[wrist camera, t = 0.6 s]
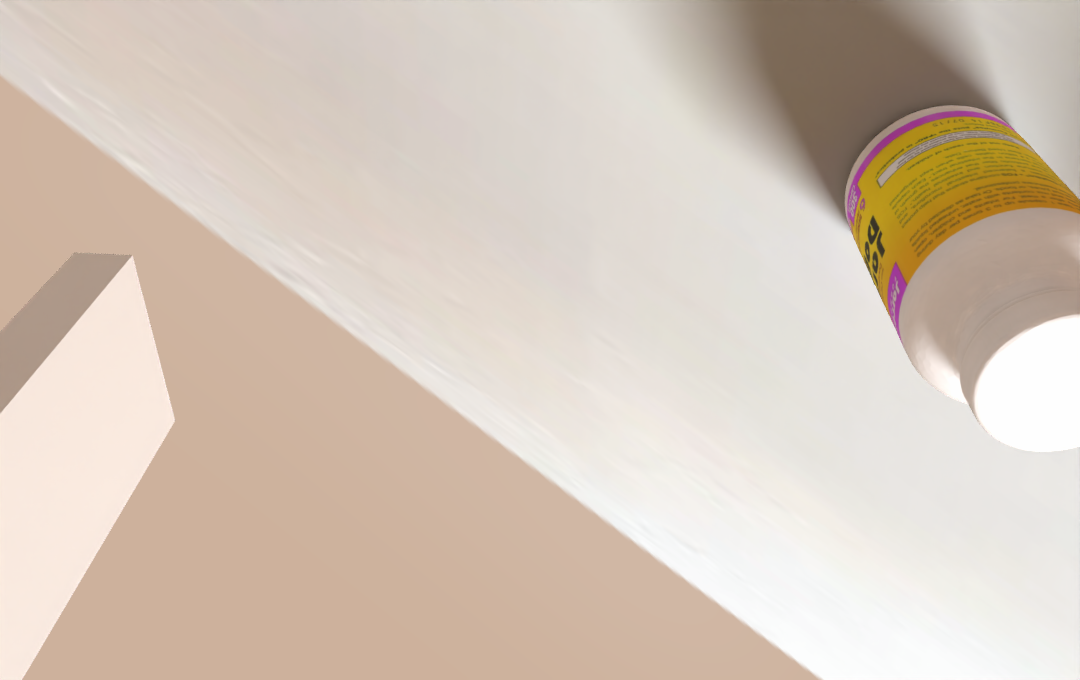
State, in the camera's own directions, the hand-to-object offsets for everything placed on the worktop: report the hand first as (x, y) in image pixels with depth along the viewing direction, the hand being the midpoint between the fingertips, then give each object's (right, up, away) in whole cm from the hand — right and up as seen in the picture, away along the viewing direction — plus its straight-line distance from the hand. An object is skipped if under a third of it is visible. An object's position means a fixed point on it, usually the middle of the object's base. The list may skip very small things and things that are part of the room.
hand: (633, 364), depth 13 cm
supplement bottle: (+14, +6, +24) cm, 28 cm away
